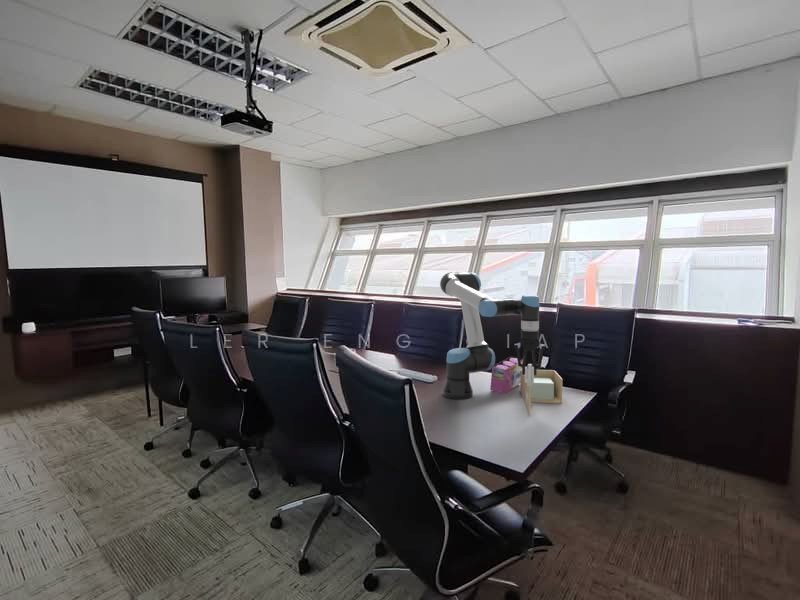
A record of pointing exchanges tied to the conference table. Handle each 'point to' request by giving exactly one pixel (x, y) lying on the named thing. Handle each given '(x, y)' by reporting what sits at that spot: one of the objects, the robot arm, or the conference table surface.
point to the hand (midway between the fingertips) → (529, 381)
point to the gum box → (505, 375)
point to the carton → (544, 387)
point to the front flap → (528, 387)
